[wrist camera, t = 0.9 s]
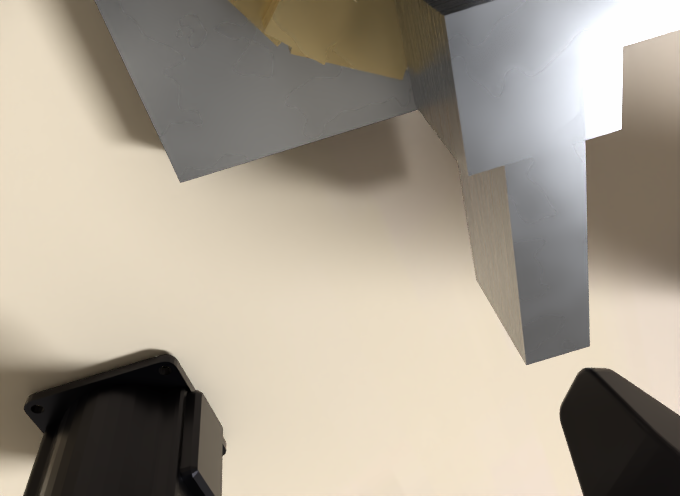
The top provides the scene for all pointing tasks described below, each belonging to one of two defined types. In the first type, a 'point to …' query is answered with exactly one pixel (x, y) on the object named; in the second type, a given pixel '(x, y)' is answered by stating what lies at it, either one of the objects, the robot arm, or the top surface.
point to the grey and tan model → (494, 127)
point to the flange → (262, 81)
